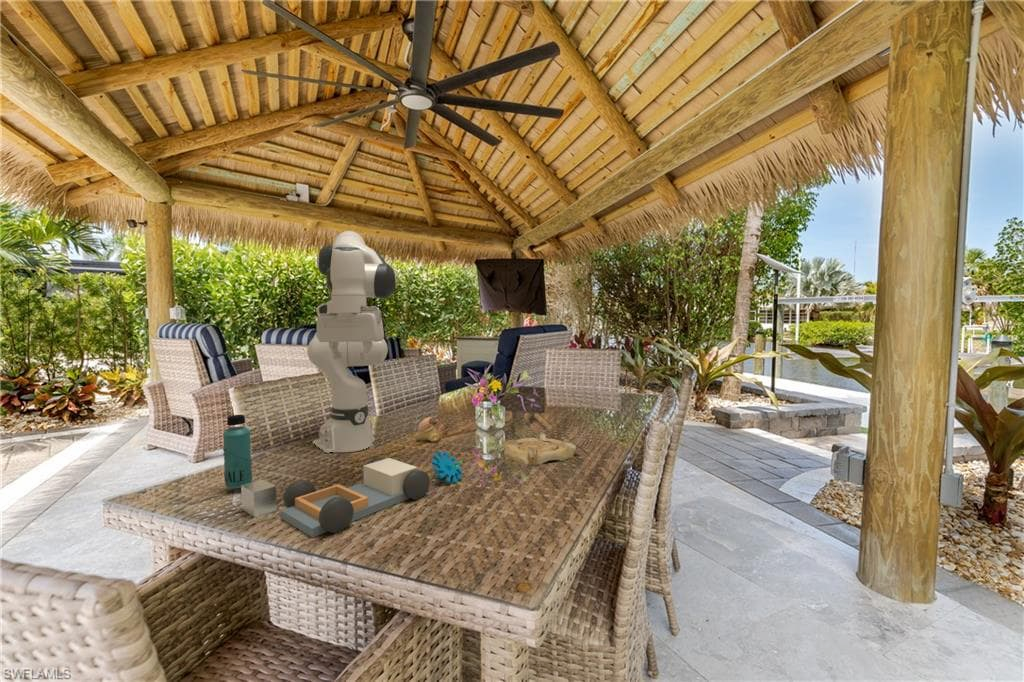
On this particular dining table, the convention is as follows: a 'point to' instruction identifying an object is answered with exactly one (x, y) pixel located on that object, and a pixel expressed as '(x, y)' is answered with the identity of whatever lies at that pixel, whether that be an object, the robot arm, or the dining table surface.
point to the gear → (447, 467)
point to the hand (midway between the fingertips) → (350, 359)
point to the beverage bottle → (237, 453)
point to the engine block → (258, 498)
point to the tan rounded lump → (428, 430)
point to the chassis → (352, 497)
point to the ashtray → (538, 450)
